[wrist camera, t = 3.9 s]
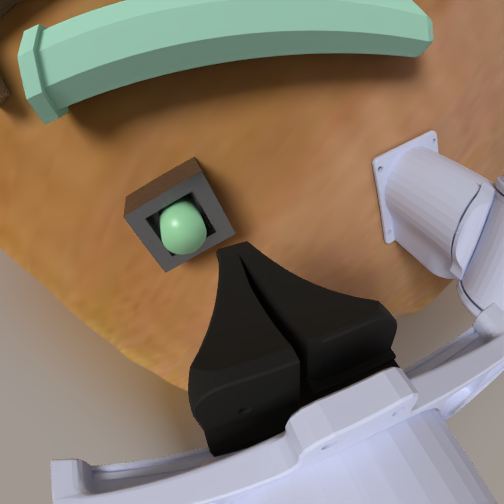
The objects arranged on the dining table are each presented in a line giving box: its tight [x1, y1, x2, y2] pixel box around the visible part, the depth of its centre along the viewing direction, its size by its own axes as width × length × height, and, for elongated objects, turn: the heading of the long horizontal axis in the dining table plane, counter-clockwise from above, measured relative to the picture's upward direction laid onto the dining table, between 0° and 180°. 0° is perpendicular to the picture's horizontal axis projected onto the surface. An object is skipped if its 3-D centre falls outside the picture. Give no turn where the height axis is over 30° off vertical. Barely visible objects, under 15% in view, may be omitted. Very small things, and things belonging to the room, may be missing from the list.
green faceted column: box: [18, 0, 433, 124], centre depth 14 cm, size 6×6×25 cm
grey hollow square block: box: [124, 157, 236, 272], centre depth 20 cm, size 5×5×3 cm
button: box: [159, 195, 207, 255], centre depth 19 cm, size 3×3×3 cm
